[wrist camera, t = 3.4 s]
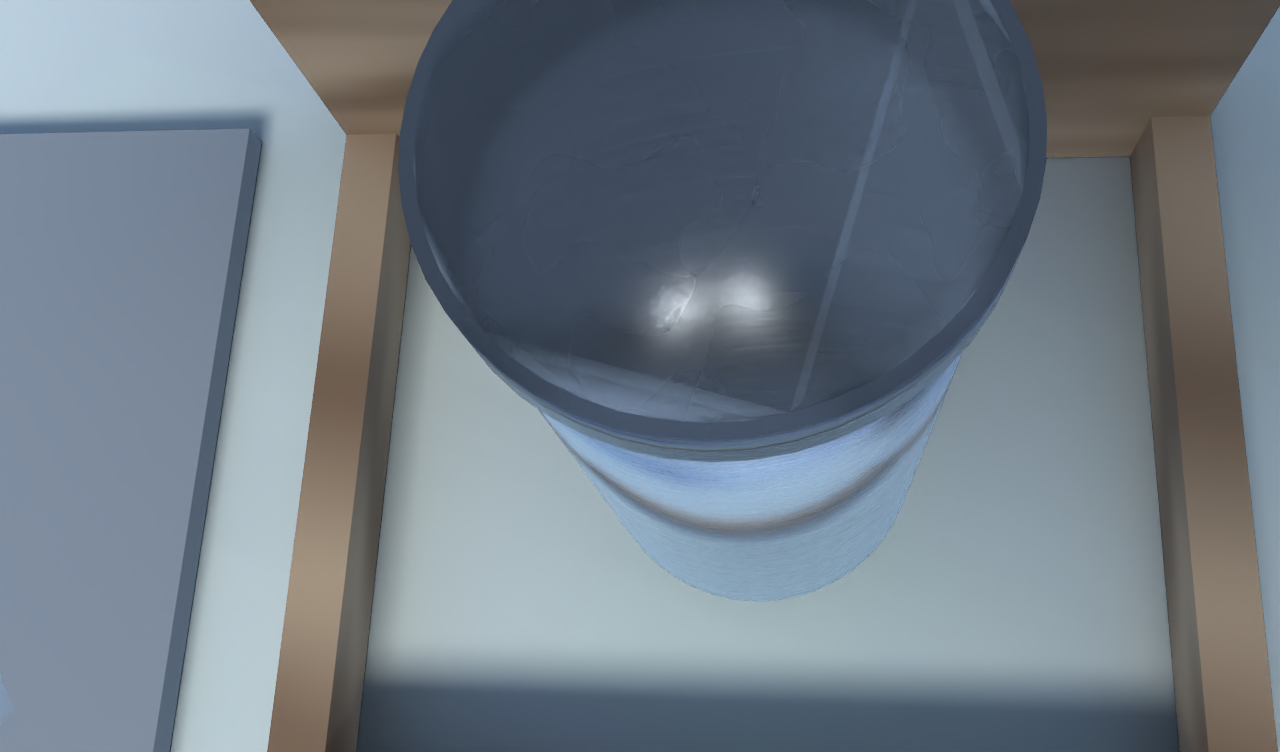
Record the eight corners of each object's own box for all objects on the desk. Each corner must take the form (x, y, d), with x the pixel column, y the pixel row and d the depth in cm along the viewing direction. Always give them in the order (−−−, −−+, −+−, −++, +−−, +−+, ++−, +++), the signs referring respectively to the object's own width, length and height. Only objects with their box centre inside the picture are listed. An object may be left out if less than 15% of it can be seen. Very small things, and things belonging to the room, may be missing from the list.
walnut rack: (1262, 938, 19) (1633, 1078, 11) (286, 877, 21) (-59, 955, 13) (1176, 62, 24) (1385, -330, 15) (382, 84, 26) (177, -250, 17)
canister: (924, 614, 21) (1066, 444, 10) (589, 604, 22) (364, 435, 11) (916, 297, 23) (1029, -158, 12) (606, 298, 24) (429, -128, 12)
